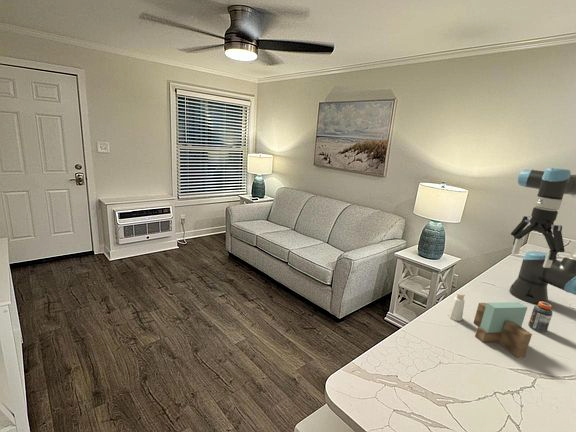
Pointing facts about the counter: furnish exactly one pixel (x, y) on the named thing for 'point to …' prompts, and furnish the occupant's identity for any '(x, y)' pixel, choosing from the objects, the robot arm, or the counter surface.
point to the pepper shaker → (457, 307)
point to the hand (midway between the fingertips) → (529, 260)
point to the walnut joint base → (504, 334)
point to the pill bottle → (540, 317)
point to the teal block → (502, 315)
